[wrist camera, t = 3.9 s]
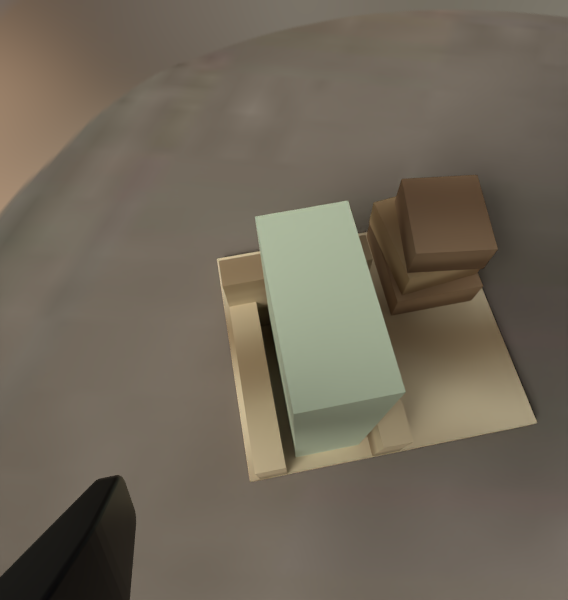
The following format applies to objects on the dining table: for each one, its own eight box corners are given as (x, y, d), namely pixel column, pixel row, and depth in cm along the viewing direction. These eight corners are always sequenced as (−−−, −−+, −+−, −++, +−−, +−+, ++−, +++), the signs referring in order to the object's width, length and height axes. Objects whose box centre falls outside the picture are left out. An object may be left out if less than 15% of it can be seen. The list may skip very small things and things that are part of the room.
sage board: (358, 444, 17) (405, 392, 10) (295, 457, 17) (293, 413, 10) (328, 322, 19) (348, 200, 12) (271, 333, 19) (254, 216, 12)
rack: (532, 424, 18) (603, 397, 14) (251, 481, 17) (235, 472, 13) (450, 221, 22) (486, 152, 18) (218, 263, 21) (198, 201, 17)
